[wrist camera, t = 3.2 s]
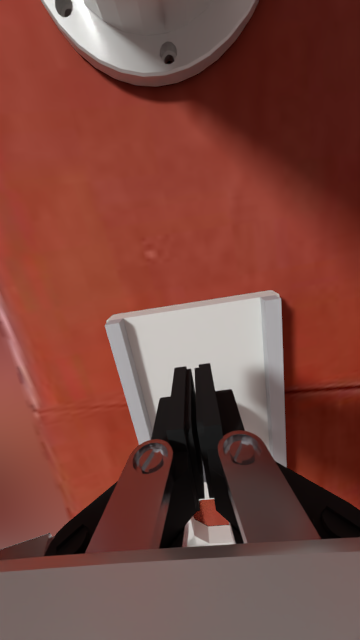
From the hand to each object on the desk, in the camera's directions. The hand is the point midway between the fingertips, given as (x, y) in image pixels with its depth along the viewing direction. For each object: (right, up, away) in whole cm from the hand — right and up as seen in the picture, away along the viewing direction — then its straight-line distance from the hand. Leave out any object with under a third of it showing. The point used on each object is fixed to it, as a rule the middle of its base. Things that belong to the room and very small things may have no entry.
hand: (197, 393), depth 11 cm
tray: (+2, -8, +11) cm, 14 cm away
